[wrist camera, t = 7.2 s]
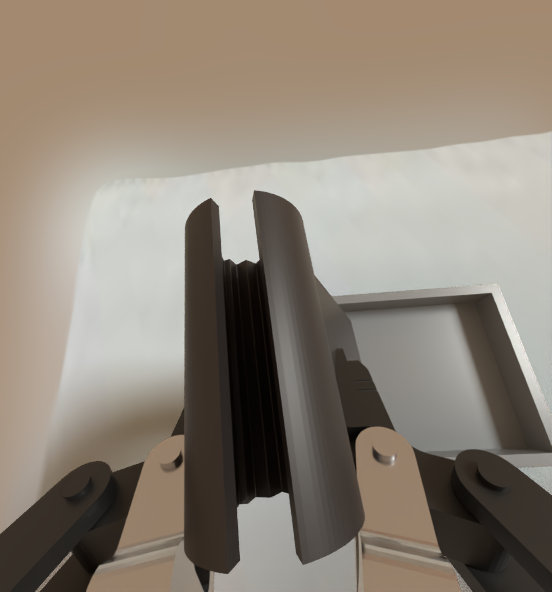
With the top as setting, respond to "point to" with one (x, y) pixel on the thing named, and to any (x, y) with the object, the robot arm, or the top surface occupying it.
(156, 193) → the top surface
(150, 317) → the top surface
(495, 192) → the top surface
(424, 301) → the tray
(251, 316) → the phone stand
